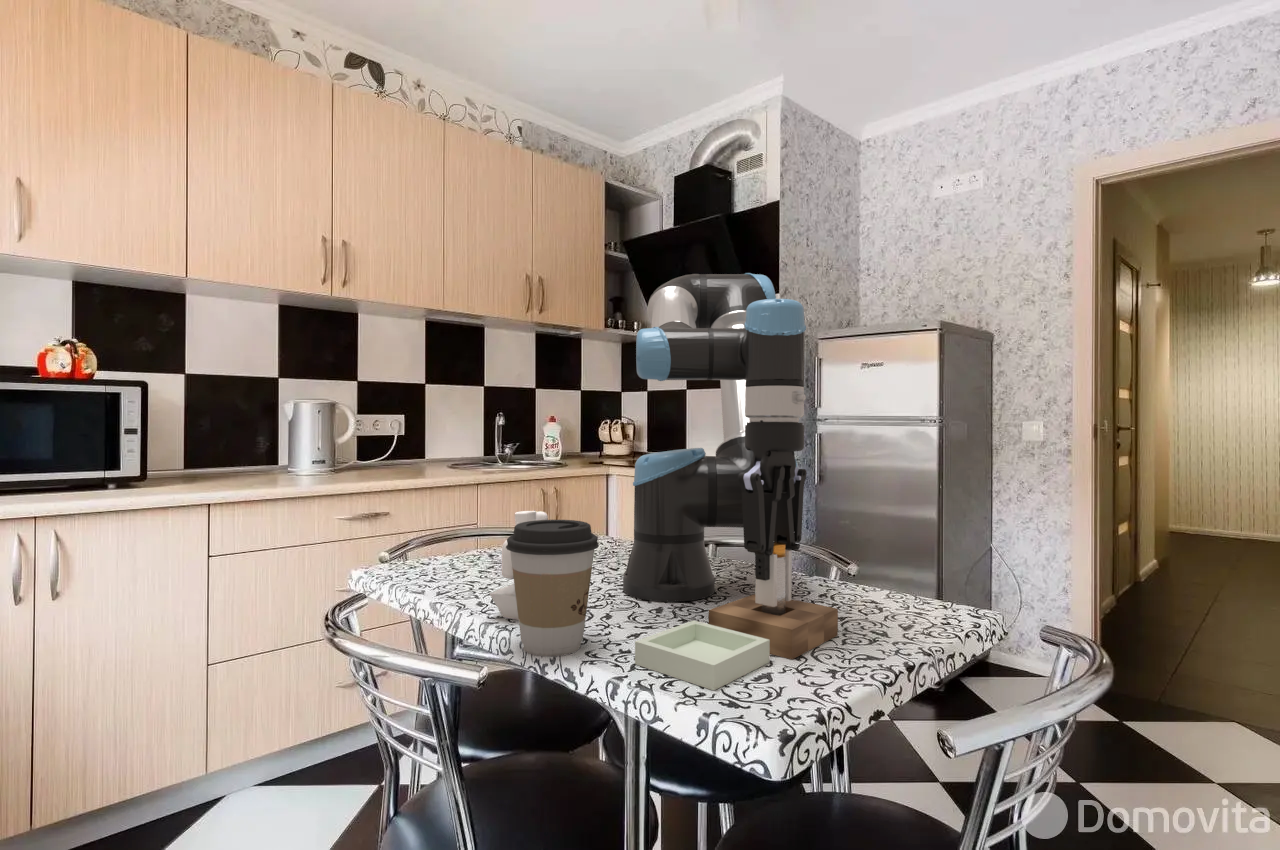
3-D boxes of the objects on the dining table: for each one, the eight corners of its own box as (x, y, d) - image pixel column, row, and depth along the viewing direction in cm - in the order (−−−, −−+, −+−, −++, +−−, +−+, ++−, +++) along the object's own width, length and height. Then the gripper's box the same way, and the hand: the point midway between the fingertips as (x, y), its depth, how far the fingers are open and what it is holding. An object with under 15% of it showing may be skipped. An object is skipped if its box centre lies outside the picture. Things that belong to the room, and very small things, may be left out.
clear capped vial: (757, 636, 85) (757, 543, 85) (769, 631, 87) (769, 540, 87) (777, 641, 83) (778, 546, 83) (789, 636, 85) (789, 543, 85)
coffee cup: (586, 666, 74) (586, 533, 74) (490, 660, 76) (491, 530, 76) (607, 634, 85) (607, 519, 85) (523, 629, 87) (524, 517, 87)
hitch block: (708, 637, 85) (708, 610, 85) (758, 617, 94) (758, 592, 94) (792, 659, 77) (792, 629, 77) (837, 635, 86) (837, 608, 86)
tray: (635, 664, 75) (635, 641, 75) (693, 640, 83) (693, 620, 83) (713, 690, 68) (713, 665, 68) (769, 662, 76) (769, 639, 76)
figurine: (484, 621, 91) (484, 513, 91) (522, 604, 100) (522, 505, 100) (528, 627, 88) (528, 516, 88) (563, 609, 97) (564, 508, 97)
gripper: (767, 419, 77) (766, 620, 77) (829, 421, 89) (828, 594, 89) (714, 420, 82) (713, 608, 82) (780, 421, 94) (779, 585, 94)
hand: (773, 601), depth 85 cm, fingers closed on clear capped vial, 3 cm apart
